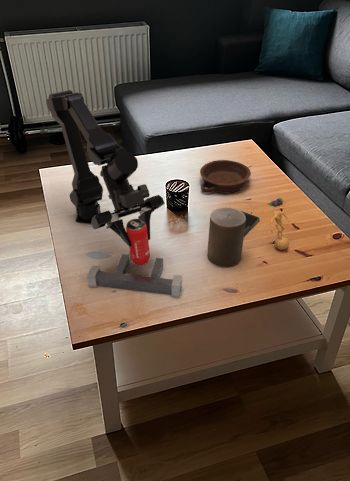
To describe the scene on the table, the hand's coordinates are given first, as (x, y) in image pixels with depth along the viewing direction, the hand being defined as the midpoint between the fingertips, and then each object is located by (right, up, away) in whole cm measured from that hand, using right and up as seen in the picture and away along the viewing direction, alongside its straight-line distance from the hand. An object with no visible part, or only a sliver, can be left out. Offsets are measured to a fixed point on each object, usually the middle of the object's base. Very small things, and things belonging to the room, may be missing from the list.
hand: (140, 243), depth 122 cm
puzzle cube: (+42, +12, +37) cm, 57 cm away
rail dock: (-1, -9, +7) cm, 12 cm away
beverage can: (0, -5, +5) cm, 7 cm away
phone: (+28, +4, +26) cm, 39 cm away
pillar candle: (+23, -4, +15) cm, 28 cm away
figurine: (+39, -1, +18) cm, 43 cm away
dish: (+26, +21, +47) cm, 58 cm away
